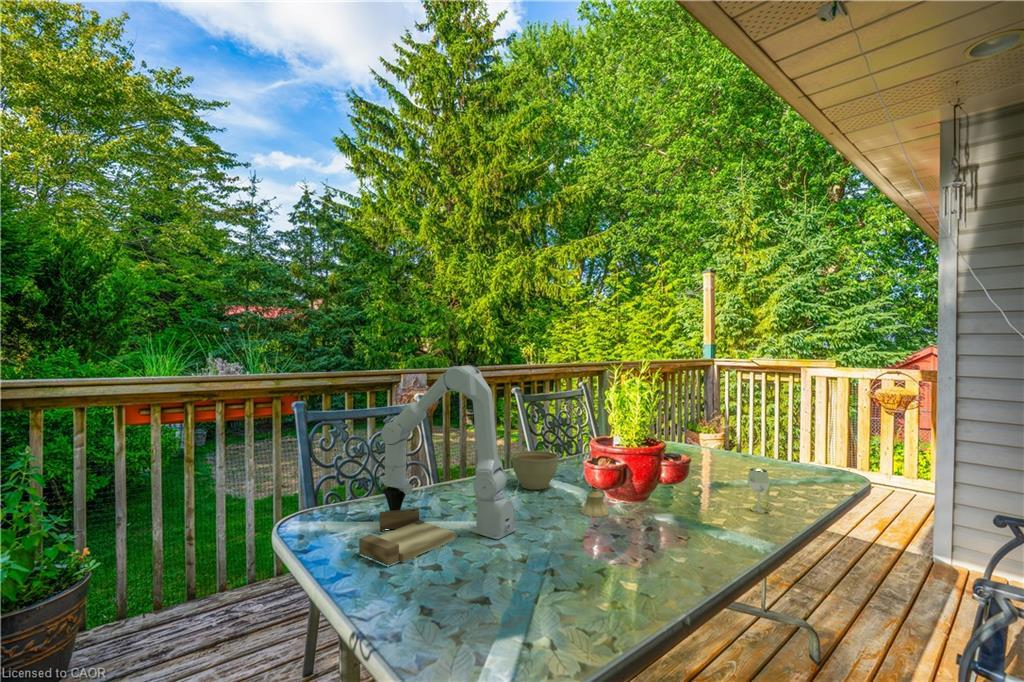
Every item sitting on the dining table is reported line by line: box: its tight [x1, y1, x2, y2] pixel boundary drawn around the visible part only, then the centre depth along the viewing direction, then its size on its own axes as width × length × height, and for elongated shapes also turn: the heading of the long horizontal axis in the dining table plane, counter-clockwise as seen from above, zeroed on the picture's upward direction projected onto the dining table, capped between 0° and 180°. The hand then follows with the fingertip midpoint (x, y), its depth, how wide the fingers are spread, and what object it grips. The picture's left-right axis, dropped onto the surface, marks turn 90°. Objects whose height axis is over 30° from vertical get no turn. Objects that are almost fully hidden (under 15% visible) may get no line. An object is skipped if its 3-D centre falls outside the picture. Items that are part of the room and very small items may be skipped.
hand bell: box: [580, 457, 610, 518], centre depth 144 cm, size 8×8×16 cm
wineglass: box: [747, 467, 770, 512], centre depth 147 cm, size 6×6×12 cm
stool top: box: [358, 519, 457, 565], centre depth 118 cm, size 13×20×4 cm, turn 144°
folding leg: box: [379, 507, 420, 530], centre depth 131 cm, size 3×10×4 cm, turn 109°
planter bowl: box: [511, 450, 559, 490], centre depth 171 cm, size 16×16×11 cm
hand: (395, 514), depth 137 cm, fingers closed
